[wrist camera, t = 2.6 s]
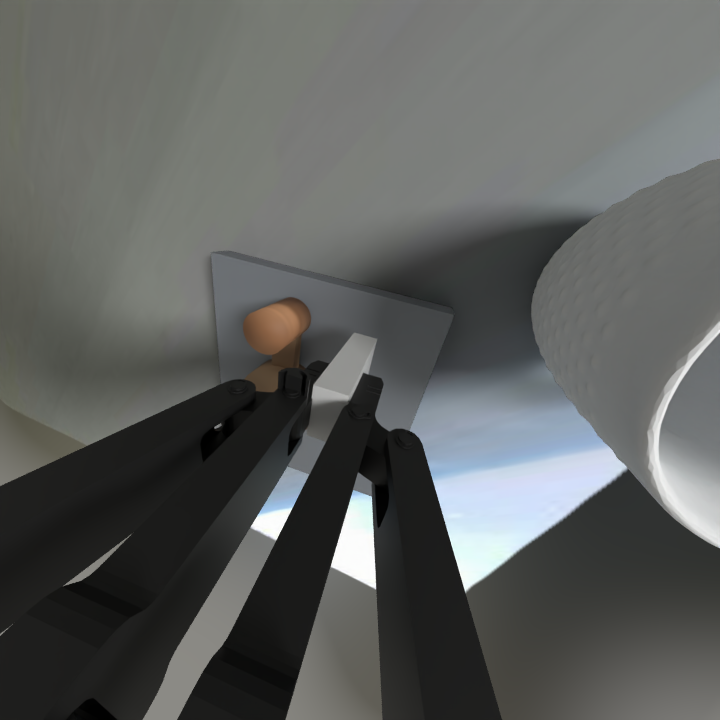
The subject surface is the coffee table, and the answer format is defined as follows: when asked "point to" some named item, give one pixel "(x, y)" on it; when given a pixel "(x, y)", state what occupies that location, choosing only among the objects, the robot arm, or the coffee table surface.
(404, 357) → the board
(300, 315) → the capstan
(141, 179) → the coffee table surface
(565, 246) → the mug
